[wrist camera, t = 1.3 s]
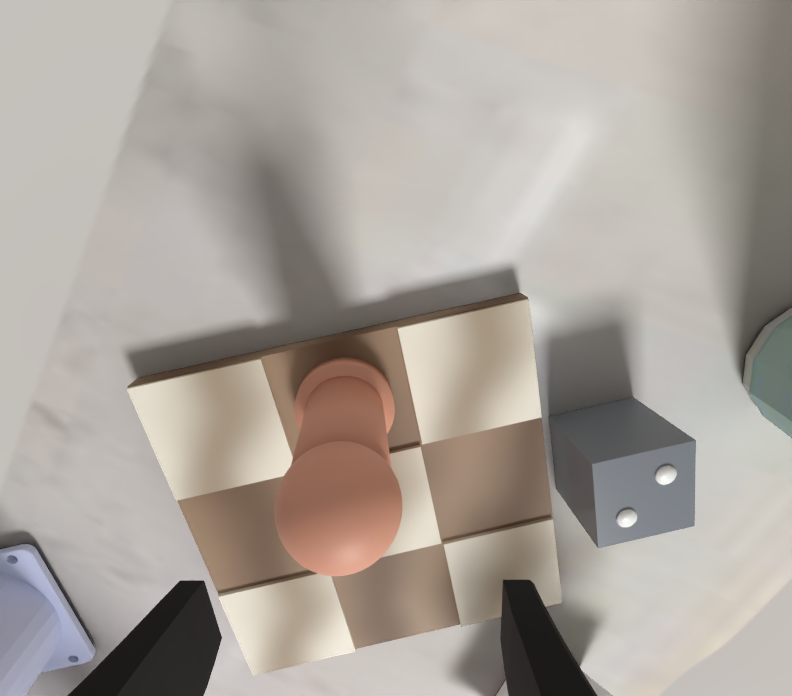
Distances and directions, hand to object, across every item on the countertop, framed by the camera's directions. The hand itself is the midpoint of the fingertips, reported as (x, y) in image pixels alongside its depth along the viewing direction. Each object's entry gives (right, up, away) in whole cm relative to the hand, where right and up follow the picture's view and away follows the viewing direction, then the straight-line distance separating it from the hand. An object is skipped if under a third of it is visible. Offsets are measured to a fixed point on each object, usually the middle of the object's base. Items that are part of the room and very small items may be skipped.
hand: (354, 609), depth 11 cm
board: (0, -2, +13) cm, 13 cm away
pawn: (-1, +4, +10) cm, 11 cm away
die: (+12, +1, +13) cm, 17 cm away
